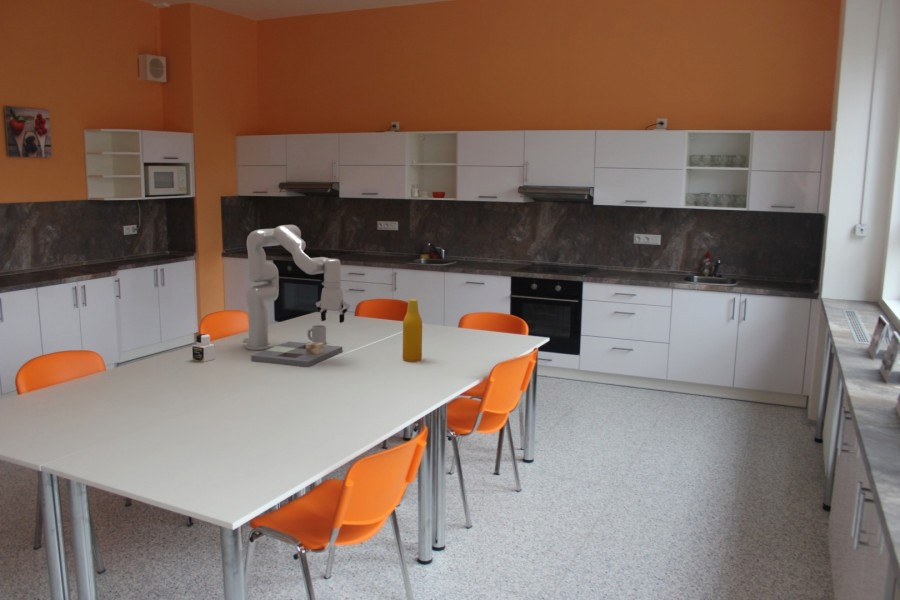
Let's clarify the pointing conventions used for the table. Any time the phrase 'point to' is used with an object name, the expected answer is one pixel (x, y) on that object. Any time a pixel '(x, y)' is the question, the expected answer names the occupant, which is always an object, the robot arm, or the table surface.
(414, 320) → the beer bottle
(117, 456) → the table surface
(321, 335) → the cup
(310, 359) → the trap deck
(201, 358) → the medicine bottle
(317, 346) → the beech block
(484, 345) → the table surface
